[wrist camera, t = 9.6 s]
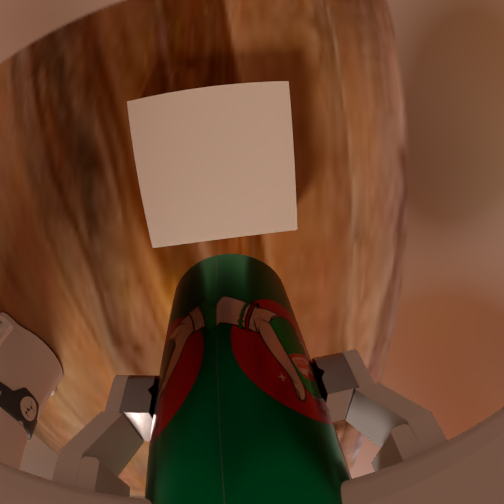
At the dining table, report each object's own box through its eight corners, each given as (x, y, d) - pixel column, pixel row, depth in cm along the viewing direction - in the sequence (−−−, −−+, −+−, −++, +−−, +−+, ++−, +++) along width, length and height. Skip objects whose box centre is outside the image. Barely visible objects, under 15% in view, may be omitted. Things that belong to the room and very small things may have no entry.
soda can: (193, 345, 15) (192, 582, 4) (161, 261, 13) (92, 571, 2) (289, 326, 15) (361, 561, 4) (274, 236, 13) (403, 553, 2)
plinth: (159, 232, 31) (152, 248, 28) (138, 103, 25) (126, 101, 21) (288, 216, 32) (297, 229, 28) (279, 85, 26) (288, 81, 22)
